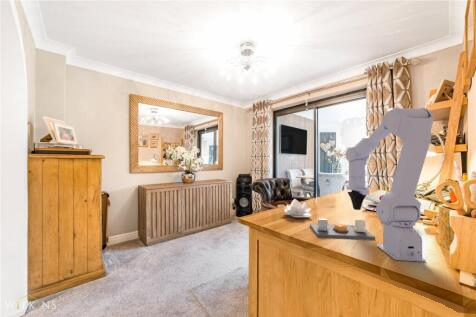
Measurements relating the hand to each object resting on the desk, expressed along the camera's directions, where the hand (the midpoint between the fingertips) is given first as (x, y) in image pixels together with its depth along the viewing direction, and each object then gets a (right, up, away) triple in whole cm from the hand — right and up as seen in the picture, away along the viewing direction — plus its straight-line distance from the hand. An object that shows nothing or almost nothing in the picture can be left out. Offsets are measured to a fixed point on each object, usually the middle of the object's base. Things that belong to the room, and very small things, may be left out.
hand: (356, 209), depth 80 cm
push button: (-9, -8, -4) cm, 12 cm away
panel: (-9, -9, -3) cm, 12 cm away
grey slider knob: (-16, -7, -4) cm, 18 cm away
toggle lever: (-2, -7, -5) cm, 9 cm away
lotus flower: (-19, -9, +19) cm, 28 cm away
